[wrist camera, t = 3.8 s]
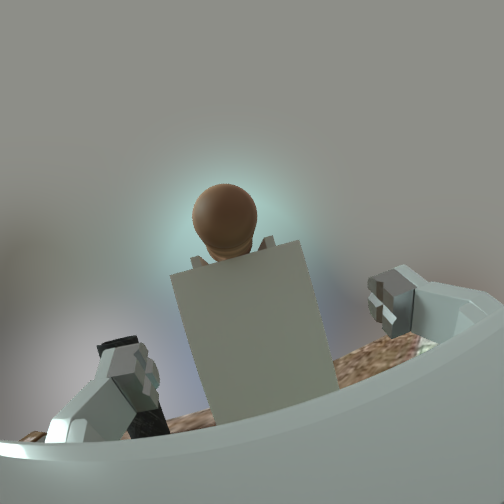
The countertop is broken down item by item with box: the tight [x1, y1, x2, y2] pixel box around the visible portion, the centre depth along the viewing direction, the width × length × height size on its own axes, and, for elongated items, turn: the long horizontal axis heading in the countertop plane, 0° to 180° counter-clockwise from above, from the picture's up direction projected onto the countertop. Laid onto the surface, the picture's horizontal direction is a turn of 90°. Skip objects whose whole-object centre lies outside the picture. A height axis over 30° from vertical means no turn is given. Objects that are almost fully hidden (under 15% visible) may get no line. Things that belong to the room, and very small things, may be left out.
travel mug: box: [97, 336, 170, 439], centre depth 46 cm, size 8×8×20 cm
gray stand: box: [170, 236, 339, 426], centre depth 34 cm, size 16×12×27 cm
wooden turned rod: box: [192, 184, 257, 262], centre depth 30 cm, size 22×5×5 cm, turn 3°
